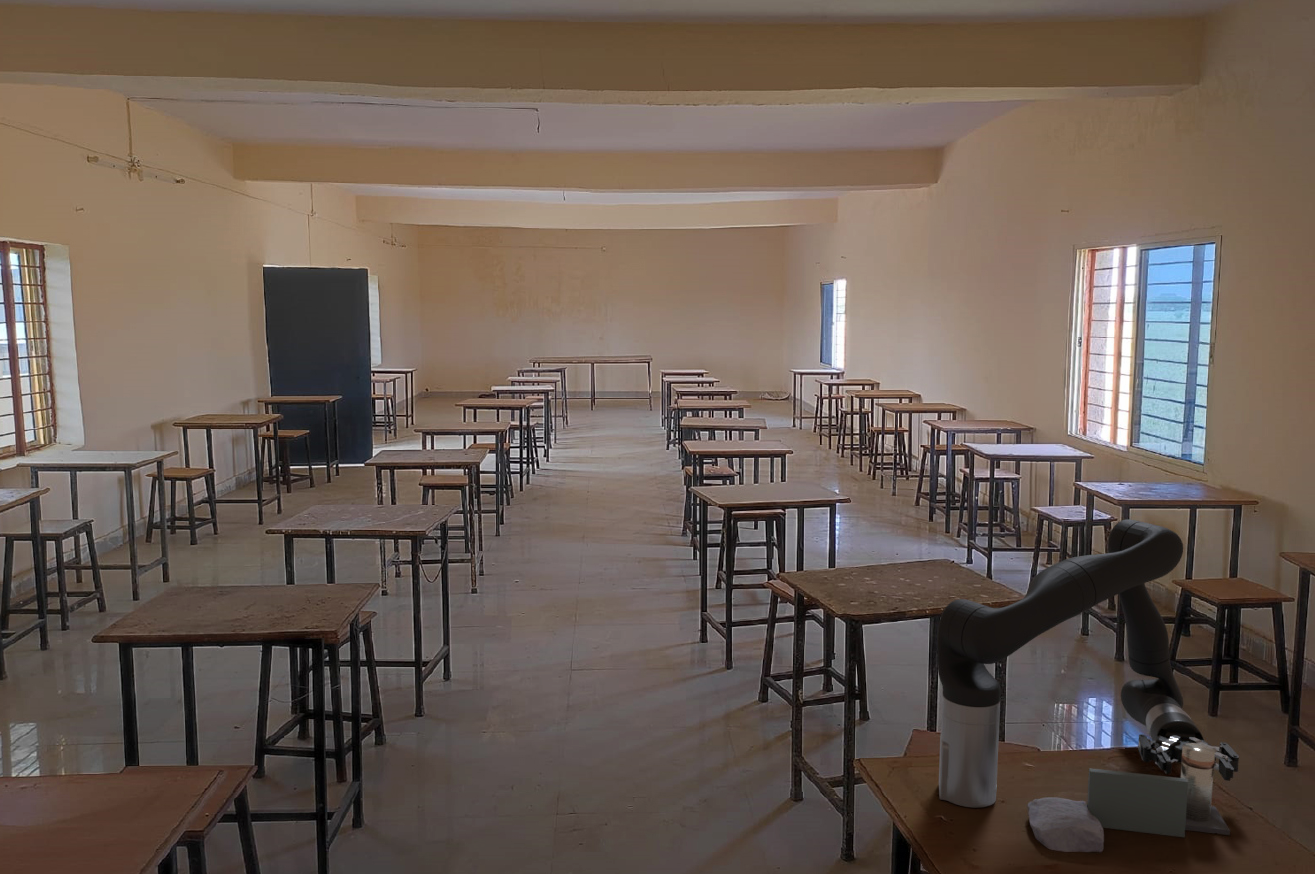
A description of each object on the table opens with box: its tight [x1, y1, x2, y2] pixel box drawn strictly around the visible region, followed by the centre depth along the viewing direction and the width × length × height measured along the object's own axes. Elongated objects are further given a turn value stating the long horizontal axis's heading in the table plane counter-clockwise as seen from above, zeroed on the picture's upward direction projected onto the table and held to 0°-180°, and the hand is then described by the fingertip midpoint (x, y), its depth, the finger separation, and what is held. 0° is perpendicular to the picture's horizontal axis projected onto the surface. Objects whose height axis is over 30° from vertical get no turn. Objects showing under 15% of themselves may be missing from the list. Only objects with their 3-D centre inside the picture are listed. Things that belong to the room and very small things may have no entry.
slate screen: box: [1086, 768, 1188, 838], centre depth 153 cm, size 14×1×9 cm, turn 75°
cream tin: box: [1180, 743, 1215, 821], centre depth 156 cm, size 5×5×11 cm
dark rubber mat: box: [1185, 805, 1231, 836], centre depth 156 cm, size 8×8×1 cm
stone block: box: [1026, 796, 1105, 853], centre depth 152 cm, size 12×5×10 cm
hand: (1198, 771), depth 155 cm, fingers open, 8 cm apart
